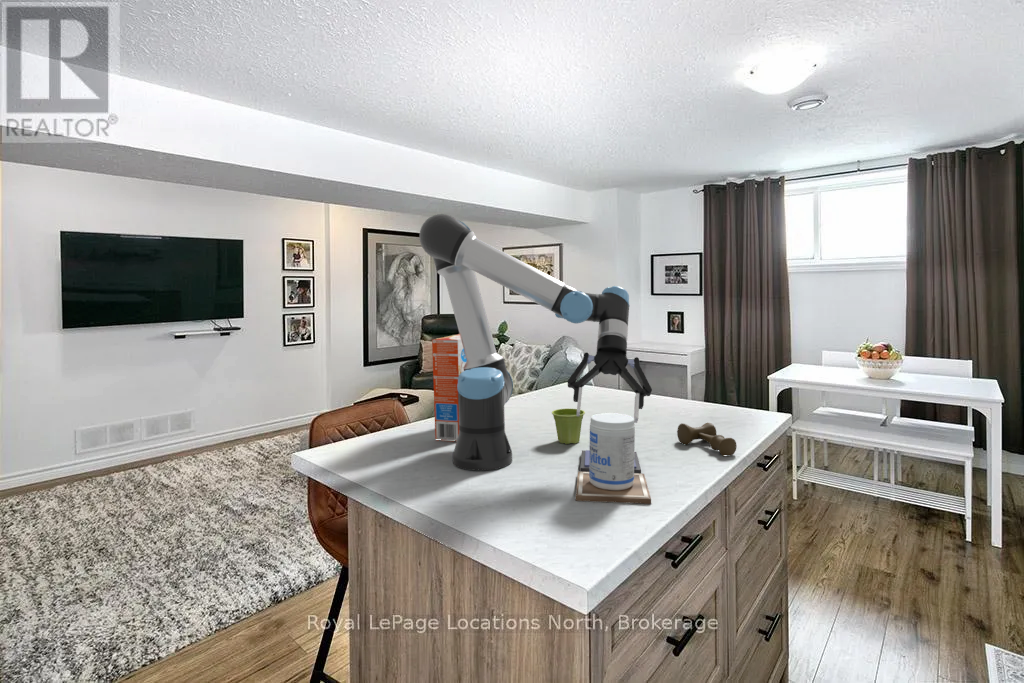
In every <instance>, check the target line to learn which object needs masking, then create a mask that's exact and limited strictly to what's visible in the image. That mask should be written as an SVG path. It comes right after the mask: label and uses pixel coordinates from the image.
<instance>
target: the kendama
mask: <svg viewBox="0 0 1024 683" xmlns="http://www.w3.org/2000/svg"><path fill="white" fill-rule="evenodd" d="M676 433H677V434H676V436H677V439H678V441H679V443H680V442H681V443H680V444H682V443H683V444H682V445H684V444H686V445H685V446H688V445H689V444H691V443H692V442H693V441H694V440H703V441H704V442H706V443H708V444H709V446H710V448H711V450H713V451H718V450H719V451H718V452H719V453H720V454H719V455H721V456H723V455H731V456H733V455H734V454H735V453H736V451H737V446H738V445H737V442H736V439H734V438H732V437H725V436H723V435H722V434H717V429H716V426H715V425H714V424H713V423H711V422H705V423H704V424H702V425H701V426H699V427H698V426H697V427H693V426H690V425H688V424H686V423H679V424H678V426H677V431H676Z"/></svg>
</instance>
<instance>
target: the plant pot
mask: <svg viewBox="0 0 1024 683" xmlns="http://www.w3.org/2000/svg"><path fill="white" fill-rule="evenodd" d="M551 414H552V415H553V419H554V424H555V429H556V436H557V442H559V443H560V444H563V443H565V444H564V445H570V444H578V443H579V442H580V438H581V432H582V425H583V424H582V423H583V418H584V415H585V414H586V412H585V410H583V409H580V416H576V415H577V408H558V409H555V410H552V411H551Z"/></svg>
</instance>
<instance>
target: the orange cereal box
mask: <svg viewBox="0 0 1024 683" xmlns="http://www.w3.org/2000/svg"><path fill="white" fill-rule="evenodd" d="M431 348H432V349H431V350H432V374H433V376H432V377H433V380H432V381H433V405H434V406H433V411H434V435H435V436H434V439H441V440H455V441H457V439H458V435H459V409H458V390H457V384H458V377H459V375H460V374H461V373H462V372H463V371H464V369H463V367H464V366H465V364H466V362H467V359H466V355H465V352H464V348H463V344H462V341H461V337H460V333H458V334H452V335H449V336H444V337H438V338H432V339H431Z"/></svg>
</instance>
